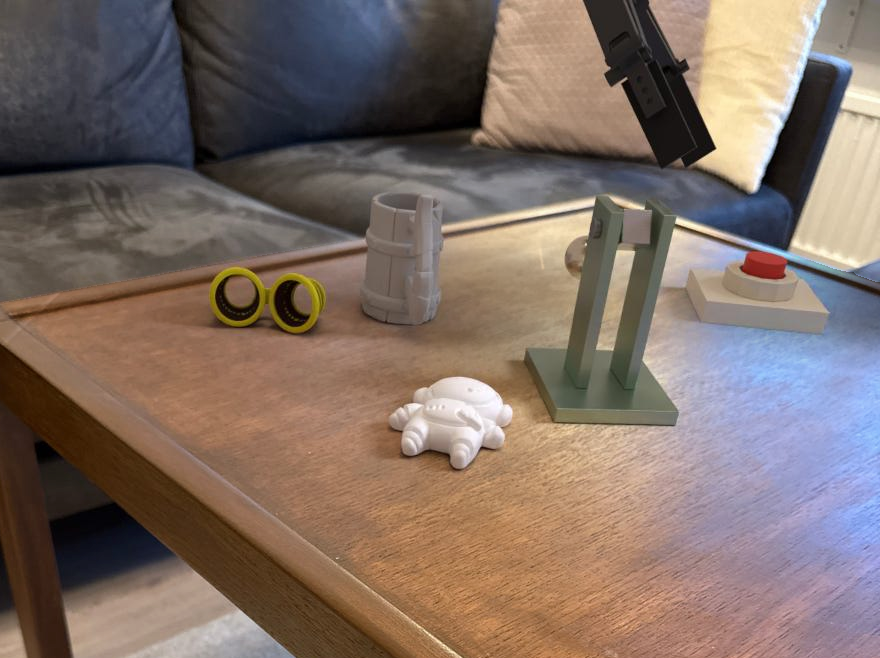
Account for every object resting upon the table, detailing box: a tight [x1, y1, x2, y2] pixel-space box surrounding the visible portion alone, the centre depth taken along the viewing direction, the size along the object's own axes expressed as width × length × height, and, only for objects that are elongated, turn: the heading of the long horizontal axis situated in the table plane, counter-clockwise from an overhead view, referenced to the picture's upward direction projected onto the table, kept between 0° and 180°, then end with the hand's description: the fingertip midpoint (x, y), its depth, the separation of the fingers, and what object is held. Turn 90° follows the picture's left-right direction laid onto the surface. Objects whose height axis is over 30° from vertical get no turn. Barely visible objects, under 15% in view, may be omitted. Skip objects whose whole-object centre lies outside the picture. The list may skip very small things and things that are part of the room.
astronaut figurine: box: [388, 376, 514, 470], centre depth 74 cm, size 9×12×3 cm
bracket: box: [523, 195, 680, 426], centre depth 78 cm, size 12×10×15 cm
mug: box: [359, 191, 445, 326], centre depth 88 cm, size 8×12×12 cm, turn 14°
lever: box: [564, 208, 652, 281], centre depth 80 cm, size 14×4×4 cm, turn 6°
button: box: [742, 250, 788, 280], centre depth 98 cm, size 4×4×2 cm
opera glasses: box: [208, 266, 327, 334], centre depth 87 cm, size 10×5×5 cm, turn 85°
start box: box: [684, 259, 830, 335], centre depth 100 cm, size 12×10×4 cm
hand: (691, 159), depth 77 cm, fingers open, 13 cm apart
